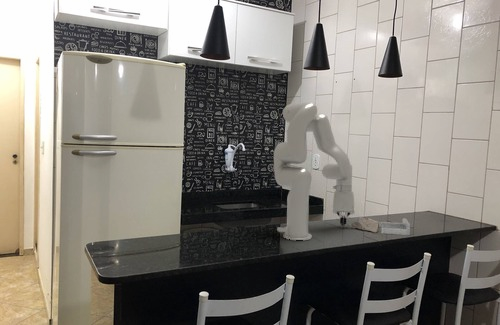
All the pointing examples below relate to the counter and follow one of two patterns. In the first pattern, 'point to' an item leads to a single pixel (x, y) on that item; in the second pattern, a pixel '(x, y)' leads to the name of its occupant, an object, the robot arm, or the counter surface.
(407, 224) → the dock
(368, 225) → the concrete fragment
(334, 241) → the counter surface
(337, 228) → the counter surface
